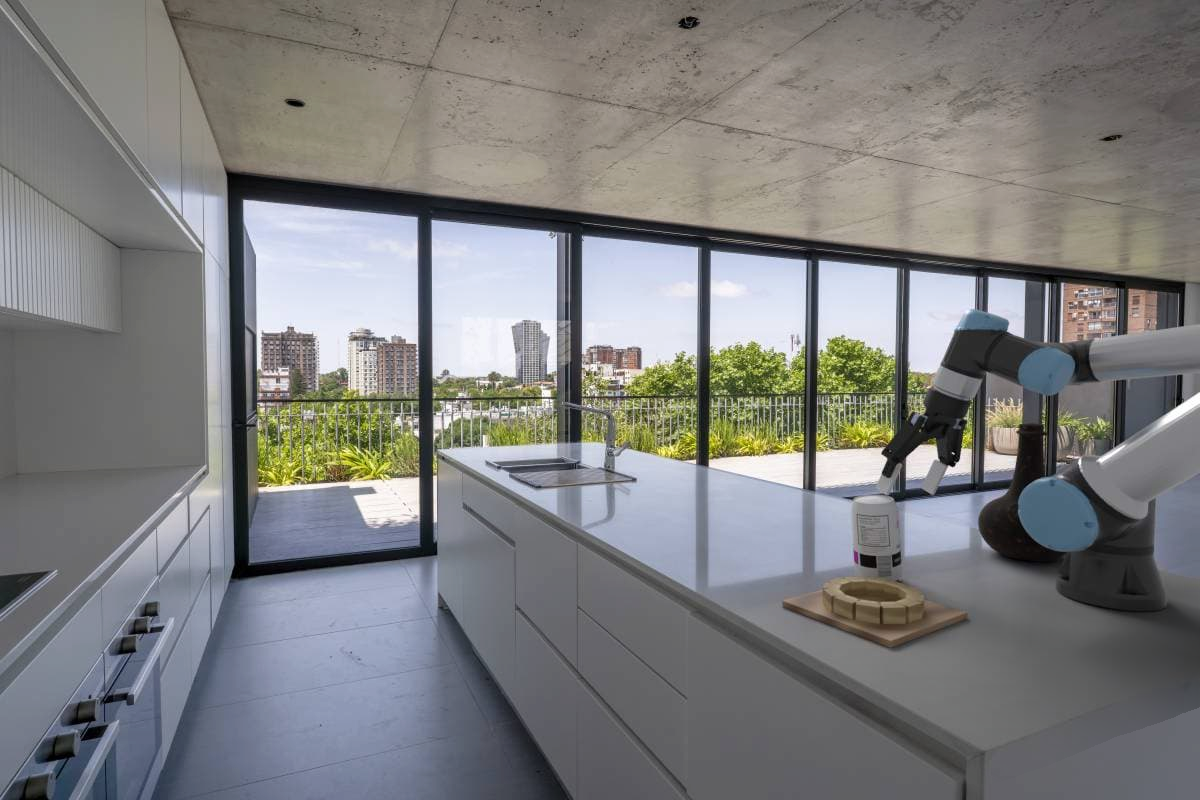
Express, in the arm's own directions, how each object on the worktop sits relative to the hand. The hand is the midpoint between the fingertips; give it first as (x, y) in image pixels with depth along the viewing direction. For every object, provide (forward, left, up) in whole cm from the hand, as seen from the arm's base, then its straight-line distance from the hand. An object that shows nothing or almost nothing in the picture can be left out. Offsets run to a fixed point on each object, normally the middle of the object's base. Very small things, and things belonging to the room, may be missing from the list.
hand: (905, 491), depth 130 cm
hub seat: (-11, +25, -16) cm, 32 cm away
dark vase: (-9, -30, -16) cm, 35 cm away
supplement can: (-1, +9, -15) cm, 18 cm away
